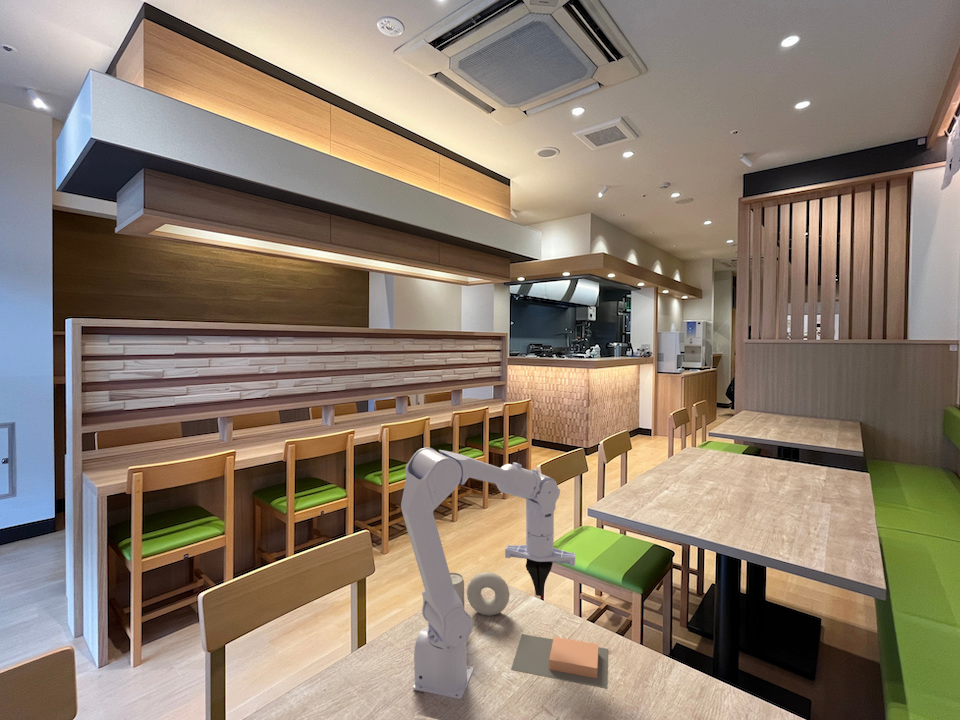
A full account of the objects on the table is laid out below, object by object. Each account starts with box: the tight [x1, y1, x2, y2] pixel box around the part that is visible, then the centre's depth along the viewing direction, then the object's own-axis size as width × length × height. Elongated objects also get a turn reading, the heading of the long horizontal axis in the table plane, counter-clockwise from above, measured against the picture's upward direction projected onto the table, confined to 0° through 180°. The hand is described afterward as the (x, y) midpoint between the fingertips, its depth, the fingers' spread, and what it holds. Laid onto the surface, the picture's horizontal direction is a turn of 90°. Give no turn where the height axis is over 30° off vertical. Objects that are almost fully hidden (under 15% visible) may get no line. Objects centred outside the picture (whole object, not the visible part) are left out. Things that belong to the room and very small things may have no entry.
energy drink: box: [450, 572, 465, 608], centre depth 103 cm, size 5×5×12 cm
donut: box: [466, 571, 510, 617], centre depth 109 cm, size 10×4×10 cm, turn 82°
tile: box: [549, 636, 599, 678], centre depth 93 cm, size 2×7×9 cm
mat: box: [510, 633, 609, 689], centre depth 94 cm, size 18×11×1 cm, turn 74°
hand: (539, 593), depth 99 cm, fingers closed
